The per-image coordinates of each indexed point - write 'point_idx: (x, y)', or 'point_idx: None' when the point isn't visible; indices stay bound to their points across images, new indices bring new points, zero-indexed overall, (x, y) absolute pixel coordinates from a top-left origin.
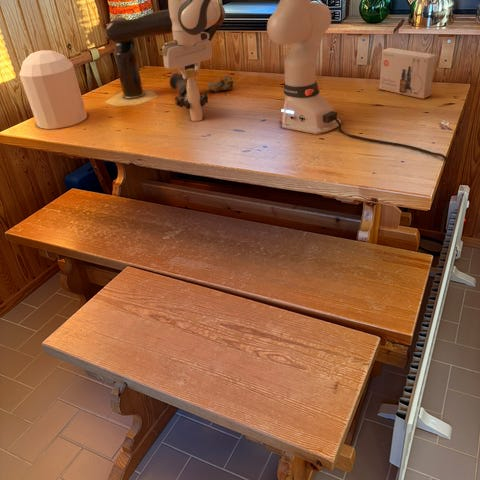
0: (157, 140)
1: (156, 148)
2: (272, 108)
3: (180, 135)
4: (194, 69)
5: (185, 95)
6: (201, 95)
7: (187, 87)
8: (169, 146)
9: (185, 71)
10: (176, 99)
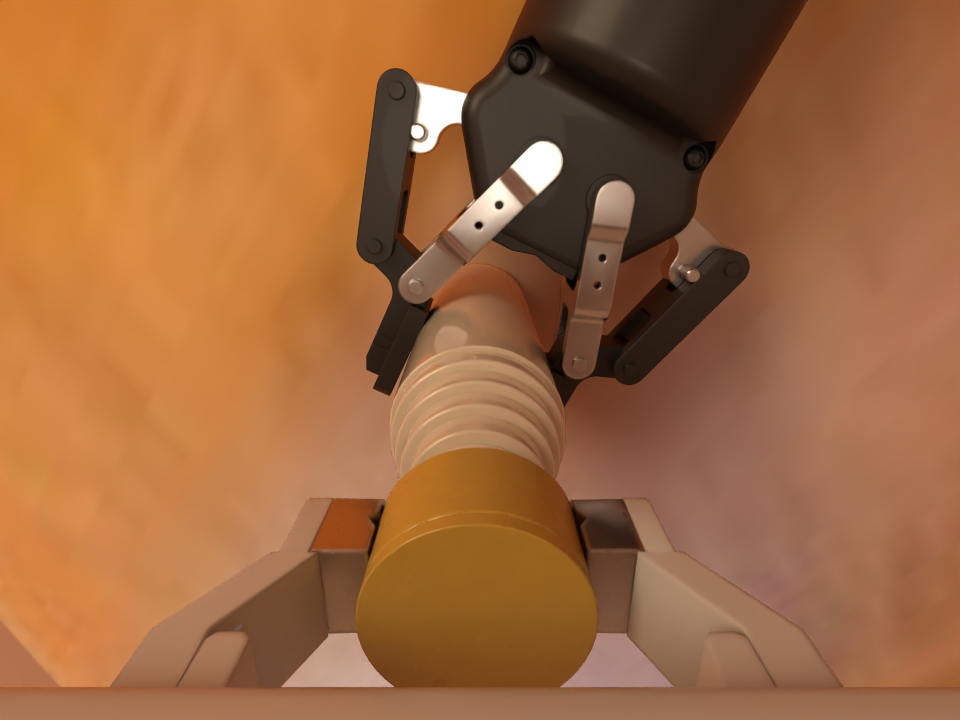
0: (55, 413)
1: (8, 508)
2: (913, 575)
3: (218, 464)
4: (552, 682)
5: (536, 111)
6: (676, 239)
7: (390, 442)
8: (88, 541)
9: (357, 600)
10: (369, 150)
